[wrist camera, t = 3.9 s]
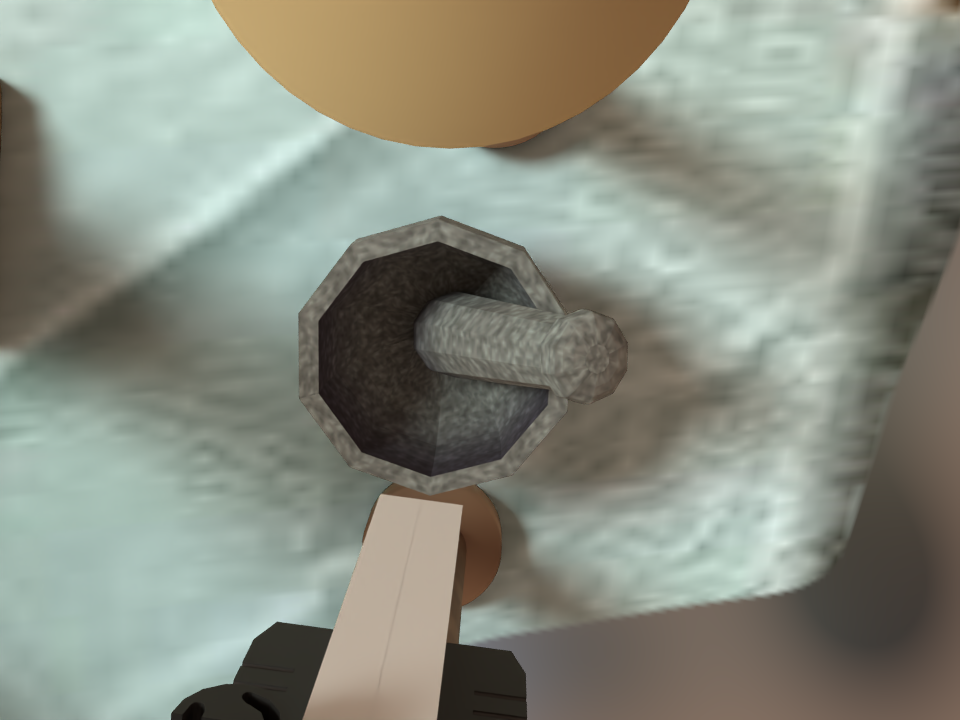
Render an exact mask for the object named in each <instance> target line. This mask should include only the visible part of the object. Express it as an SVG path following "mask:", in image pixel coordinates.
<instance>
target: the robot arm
mask: <svg viewBox="0 0 960 720" xmlns="http://www.w3.org/2000/svg"><path fill="white" fill-rule="evenodd" d="M462 508H463V505H458V504H450V503H443V502H436V501H428V500H421V499H414V498H406V497H399V496H392V495H385V494H380V496H379V499H378V502H377V505H376V508H375V511H374V514H373V517H372V520H371V522H370V525H369V528H368V531H367V534H366V537H365V540H364V543H363V546H362V549H361V551H360V554H359V557H358V560H357V563H356V566H355V569H354V572H353V575H352V578H351V580H350V583H349V586H348V589H347V592H346V595H345V598H344V601H343V604H342V607H341V609H340V612H339V615H338V618H337V621H336V624H335V627H334V630H333V629H326V628H319V627H311V626H304V625H297V624H289V623H282V622H276V623H275V624H274V625H272V626H271V627H270V628H268V629H267V630H266V631H264V632H263V633H262V634H260V635H259V636H258V637H256V638H255V639H254V640H253V642H252V644H251V646H250V648H249V650H248V652H247V654H246V656H245V658H244V660H243V664H242V666H240V668H239V670H238V672H237V675H236V677H235V679H234V682H233V684H224V685H219V686H215V687H211V688H206V689H202V690H200V691H199V692H197V693H195V694H193V695H191V696H189V697H187V698H185V699H184V700H183V701H182V702H181V703H180V704H179V705H178V706H177V707H176V708H175V710H174V711H173V712H172V713H171V720H527V704H526V703H527V702H526V673H525V672H524V670H523V669H522V667H521V666H520V664H519V663H518V661H517V660H516V658H515V656H514V655H513V653H512V652H511V651H506V650H497V649H491V648H483V647H476V646H469V645H462V644H454V643H447V642H446V640H447V631H448V623H449V615H450V607H451V598H452V590H453V582H454V574H455V565H456V557H457V549H458V541H459V532H460V524H461V516H462Z"/></svg>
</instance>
